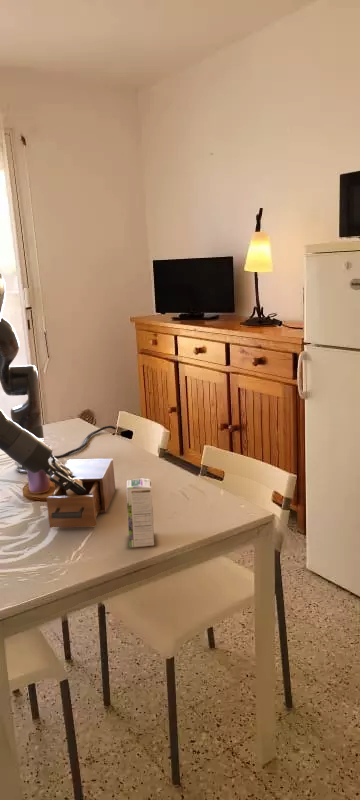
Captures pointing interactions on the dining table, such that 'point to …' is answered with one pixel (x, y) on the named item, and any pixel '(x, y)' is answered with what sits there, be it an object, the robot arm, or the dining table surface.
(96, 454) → the dining table surface
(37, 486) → the beverage can
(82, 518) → the drawer
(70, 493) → the egg
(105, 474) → the cabinet
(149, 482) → the syrup box
